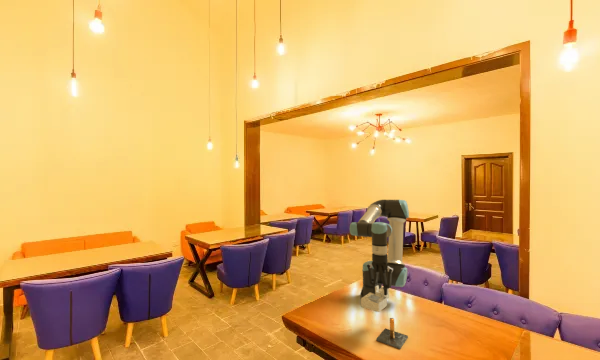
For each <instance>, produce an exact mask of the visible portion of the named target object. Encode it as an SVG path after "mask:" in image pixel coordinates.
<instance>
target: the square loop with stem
mask: <svg viewBox="0 0 600 360" xmlns="http://www.w3.org/2000/svg"><path fill="white" fill-rule="evenodd" d="M382 288H383V286H382ZM382 288H380V289H379V290H378V291H376V292H375V294H374V293H368V294H367V295H365V296H364V297H362V298H360V301H361V303H360V304H361V305H360V306H361V308H365V309H368V310H371V311H373V312H377V313H380V312H381V311H382V310H384V308H386V307H387V306H388V299H389V297H390V296H389V294H390V293H389V292H390V291H389V290H390V288H389V289H387V293H388V294H387V295H386V297H384V296H382Z"/></svg>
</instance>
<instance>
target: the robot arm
mask: <svg viewBox="0 0 600 360" xmlns="http://www.w3.org/2000/svg"><path fill="white" fill-rule="evenodd" d="M409 213H410V211H409V204H408V202H407V200H405V199H379V200H376V201H374V202H371V204H370V205H369V206H367V208H366V212H365V213H364V214H363V216H362V217H361V218H360V219H358V222H357V221H355V222H353V221H352V222H351V223H349V234H350V235H351V236H356V237H365V238H366V237H368V238H371V253H372V254H371V260H368V261H365V262H363V264H362V288H361V290H360V291H361V292H360V299H361V298H362V297H364V296H365V295H367V294H368V293H374V294H375V292H376V291H378V290H379V289H380V288H382V287H383V288H382V296H384V297H386V295H387V294H388V293H387V289H389V290H390V288H392V287H400V288H403V287H405V285H406V282H407V278H408V272H409V271H408V268H407V267H406V264H405V262H403V254H404V253H403V252H404V250H403V248H404V224H405V223H406V221H407V219H409V217H410V214H409ZM380 217H382V218H387V219H386V220H387V221H388V222H389V223H387V222H382V221H376V220H377V219H379V218H380ZM375 221H376V222H375Z"/></svg>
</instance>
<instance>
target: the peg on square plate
mask: <svg viewBox="0 0 600 360" xmlns="http://www.w3.org/2000/svg"><path fill="white" fill-rule="evenodd" d="M408 336H409V335H406V334H404V333H401V332H398V331H395V318H394V317H390V318H389V329H388V328H384V329H383V330H381V332H380V333H379V334H378V336H377V337H376V339H375V340H376V341H377V342H379V343H383V344H385V345H388V346H390V347H393V348H394V349H395V348H396V349H399V350H401V349H402V347H403V345H405V343H406V341H407V340H408V339H409V337H408Z"/></svg>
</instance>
